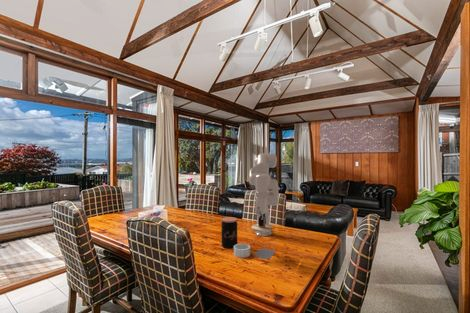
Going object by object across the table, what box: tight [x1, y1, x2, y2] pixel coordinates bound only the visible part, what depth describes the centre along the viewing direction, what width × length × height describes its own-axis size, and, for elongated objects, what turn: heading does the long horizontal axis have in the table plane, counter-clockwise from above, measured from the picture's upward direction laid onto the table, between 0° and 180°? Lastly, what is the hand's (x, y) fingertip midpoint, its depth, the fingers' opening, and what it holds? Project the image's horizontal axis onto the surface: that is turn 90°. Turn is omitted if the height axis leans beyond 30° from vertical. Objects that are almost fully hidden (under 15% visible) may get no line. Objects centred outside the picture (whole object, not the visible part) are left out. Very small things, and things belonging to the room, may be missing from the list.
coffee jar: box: [221, 216, 238, 249], centre depth 153 cm, size 11×11×18 cm
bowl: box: [233, 243, 251, 258], centre depth 138 cm, size 10×10×5 cm
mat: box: [252, 247, 277, 260], centre depth 139 cm, size 14×10×1 cm
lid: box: [251, 216, 274, 232], centre depth 139 cm, size 13×13×7 cm
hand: (262, 224), depth 139 cm, fingers closed on lid, 3 cm apart
